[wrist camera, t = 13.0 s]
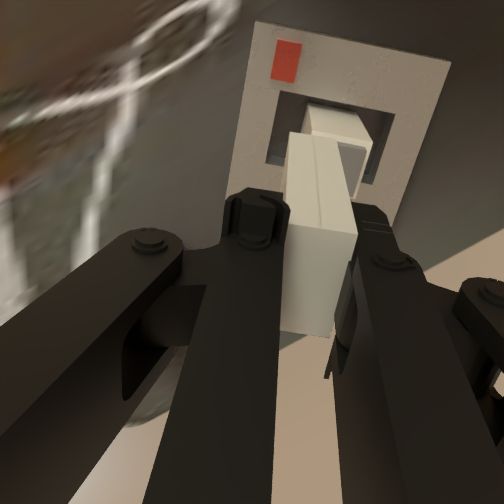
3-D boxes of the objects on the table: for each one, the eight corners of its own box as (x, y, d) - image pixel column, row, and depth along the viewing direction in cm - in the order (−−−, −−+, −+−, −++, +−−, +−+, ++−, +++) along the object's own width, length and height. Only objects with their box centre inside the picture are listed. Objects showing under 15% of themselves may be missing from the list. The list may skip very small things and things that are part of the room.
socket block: (257, 19, 40) (254, 21, 37) (441, 57, 41) (454, 63, 37) (227, 192, 48) (223, 207, 45) (382, 223, 48) (389, 240, 45)
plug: (307, 101, 43) (312, 133, 33) (356, 111, 43) (375, 146, 34) (296, 149, 45) (298, 192, 36) (342, 159, 45) (356, 204, 36)
